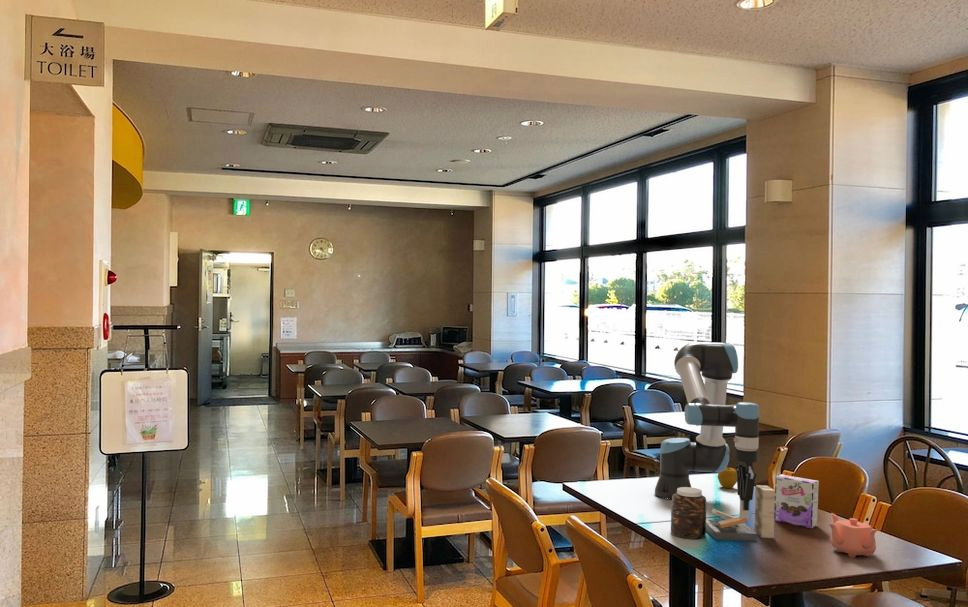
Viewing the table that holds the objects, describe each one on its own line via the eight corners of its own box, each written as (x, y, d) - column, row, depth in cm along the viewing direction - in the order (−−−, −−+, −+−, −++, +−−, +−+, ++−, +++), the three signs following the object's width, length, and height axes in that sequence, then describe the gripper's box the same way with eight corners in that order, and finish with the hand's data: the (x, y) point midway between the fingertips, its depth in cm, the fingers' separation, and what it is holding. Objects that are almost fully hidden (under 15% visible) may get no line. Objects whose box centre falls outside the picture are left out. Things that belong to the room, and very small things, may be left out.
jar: (712, 539, 255) (713, 494, 255) (678, 539, 253) (680, 494, 253) (696, 528, 267) (697, 485, 267) (664, 529, 265) (666, 485, 265)
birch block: (754, 531, 266) (755, 485, 266) (765, 531, 266) (767, 485, 266) (761, 537, 259) (763, 490, 259) (773, 538, 259) (775, 490, 259)
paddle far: (711, 511, 267) (712, 508, 267) (735, 521, 267) (736, 518, 267) (714, 514, 264) (716, 511, 264) (738, 524, 264) (740, 520, 264)
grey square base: (701, 526, 270) (702, 516, 270) (741, 528, 270) (741, 517, 270) (715, 539, 255) (715, 528, 255) (757, 540, 255) (757, 530, 255)
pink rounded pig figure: (877, 563, 235) (878, 528, 235) (826, 555, 242) (827, 520, 242) (878, 551, 248) (879, 517, 248) (829, 543, 255) (830, 510, 255)
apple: (734, 491, 327) (735, 470, 327) (714, 488, 331) (715, 467, 331) (740, 487, 334) (740, 467, 334) (720, 484, 338) (721, 464, 338)
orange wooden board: (718, 525, 260) (717, 521, 260) (744, 519, 260) (743, 515, 260) (721, 528, 257) (720, 524, 257) (747, 521, 257) (746, 518, 257)
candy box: (773, 520, 281) (774, 475, 281) (779, 517, 285) (781, 473, 285) (811, 529, 272) (813, 482, 272) (817, 526, 276) (819, 480, 276)
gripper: (728, 445, 265) (726, 513, 265) (741, 452, 252) (739, 524, 252) (750, 445, 265) (748, 514, 265) (764, 452, 252) (762, 524, 252)
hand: (744, 519), depth 259 cm, fingers closed
